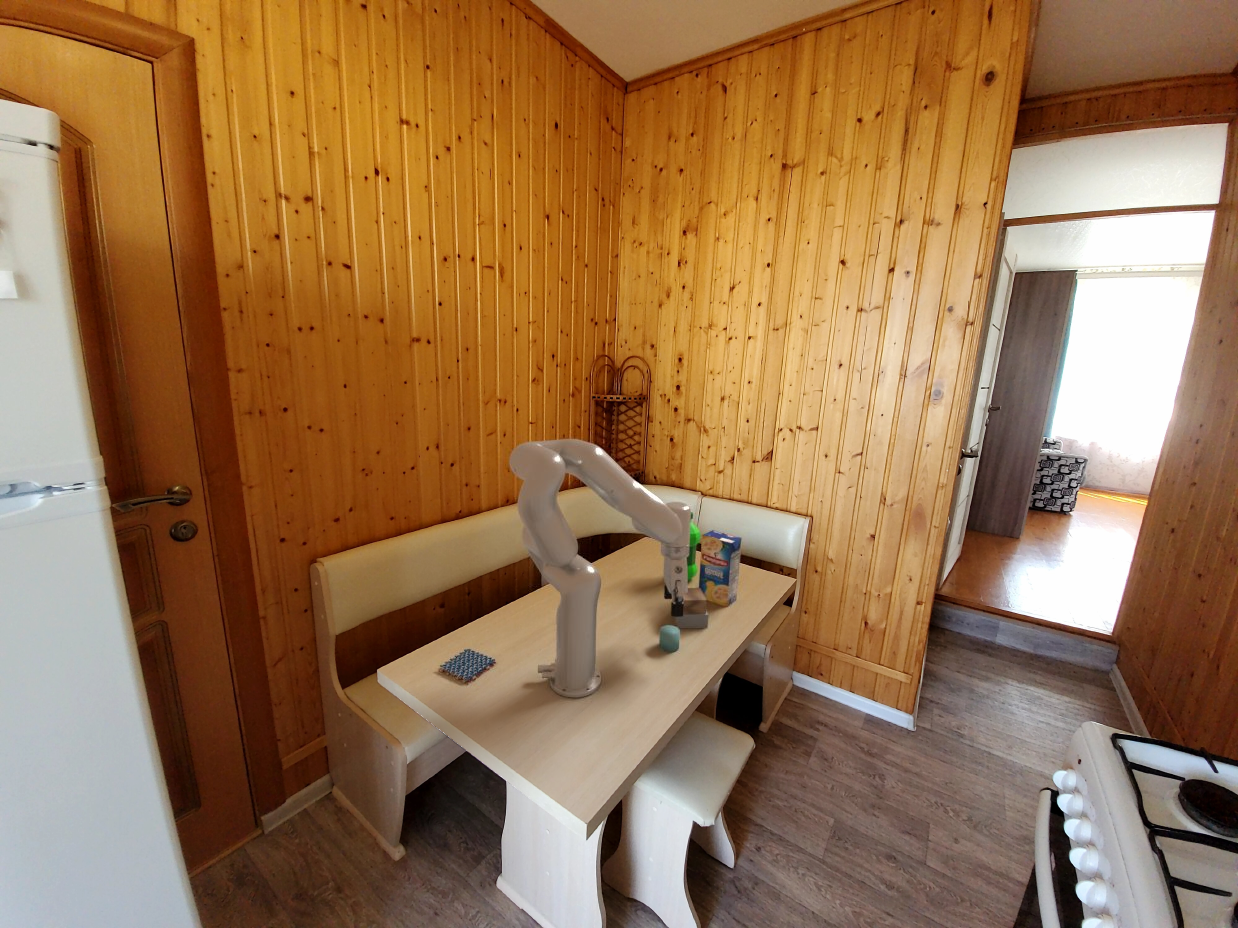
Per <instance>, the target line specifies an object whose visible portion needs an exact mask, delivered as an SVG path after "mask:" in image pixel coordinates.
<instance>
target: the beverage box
mask: <svg viewBox="0 0 1238 928" xmlns="http://www.w3.org/2000/svg"><path fill="white" fill-rule="evenodd" d="M701 535H702V536H701V549H700V564H699V577H698V578H699V579H698V588H700V589H701V590H702V592H703V594H704V596H705V598H706V600H707V601H709V602H711V603H714V604H717V605H720V606H722V607H725V608H727V607H729V606H731V605H732V604H733V603H734V602H737V596H738V585H739V575H740V562H741V552H742V551H741V550H742V537H740V536H735V535H732V534H728V533H725V532H722V531H718V530H714V529H713V530H709V531H707V532H705V533H703V534H701Z"/></svg>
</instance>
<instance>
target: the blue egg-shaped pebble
mask: <svg viewBox="0 0 1238 928" xmlns="http://www.w3.org/2000/svg"><path fill="white" fill-rule="evenodd" d="M680 634H681V630H680V628H678V627H677V626H674V625H669V624H666V625H663V626H661V627H660V628H659V640H658V642H659V644H658V648H659V649H660V650H661V651H662V652H665V653H675V652H678V651H679V650H680V636H681V635H680Z"/></svg>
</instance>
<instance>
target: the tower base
mask: <svg viewBox="0 0 1238 928" xmlns="http://www.w3.org/2000/svg"><path fill="white" fill-rule="evenodd" d="M709 615H710V614H709V613H708V611H707V610H706V614H683V616H682V617H673V618H674V622H675V624H676V627H677V628H678V629H707V628H709V627H708V626H709Z"/></svg>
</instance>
